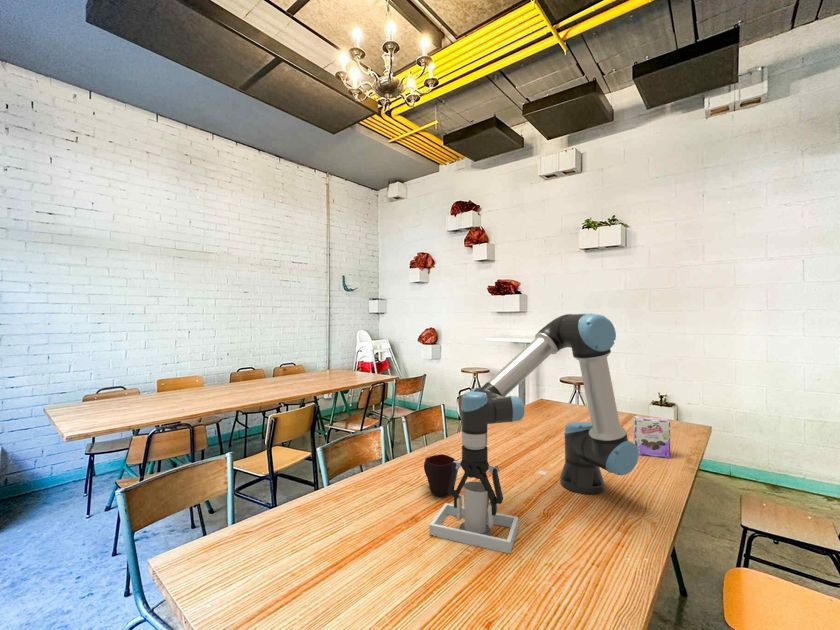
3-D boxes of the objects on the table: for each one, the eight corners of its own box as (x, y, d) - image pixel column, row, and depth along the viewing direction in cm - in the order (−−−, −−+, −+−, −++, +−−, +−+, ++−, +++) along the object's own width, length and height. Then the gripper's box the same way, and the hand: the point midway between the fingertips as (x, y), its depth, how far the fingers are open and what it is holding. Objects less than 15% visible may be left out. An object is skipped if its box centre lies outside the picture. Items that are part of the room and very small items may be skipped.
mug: (437, 502, 130) (437, 467, 131) (415, 487, 142) (415, 455, 142) (460, 495, 136) (460, 461, 136) (437, 481, 148) (436, 449, 148)
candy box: (635, 454, 174) (634, 418, 175) (633, 450, 180) (632, 415, 180) (670, 459, 169) (670, 421, 169) (667, 454, 175) (667, 418, 175)
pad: (493, 525, 116) (493, 523, 116) (486, 541, 108) (486, 539, 108) (464, 519, 120) (464, 517, 120) (455, 534, 111) (455, 532, 111)
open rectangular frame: (518, 527, 115) (518, 517, 115) (510, 553, 102) (510, 542, 102) (445, 512, 124) (445, 503, 124) (429, 535, 111) (429, 524, 111)
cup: (488, 536, 109) (490, 494, 109) (460, 532, 111) (462, 490, 111) (489, 522, 117) (490, 482, 117) (462, 519, 118) (464, 479, 119)
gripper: (513, 446, 113) (514, 523, 113) (444, 437, 121) (444, 509, 121) (509, 454, 106) (509, 536, 106) (435, 444, 114) (436, 521, 114)
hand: (475, 522), depth 114 cm, fingers open, 9 cm apart
